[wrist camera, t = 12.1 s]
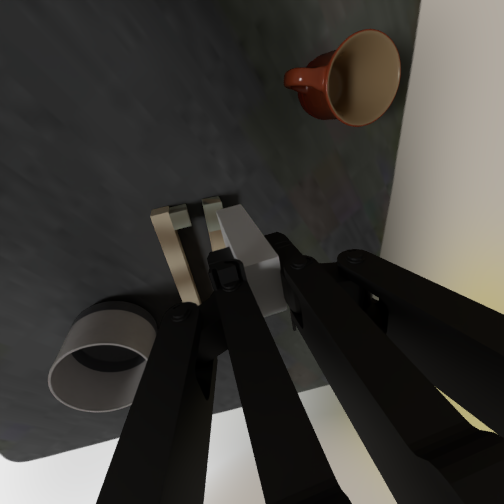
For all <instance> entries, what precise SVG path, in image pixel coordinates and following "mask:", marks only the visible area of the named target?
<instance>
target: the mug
mask: <svg viewBox="0 0 504 504" xmlns="http://www.w3.org/2000/svg"><path fill="white" fill-rule="evenodd" d="M400 77H401V62H400V57H399V53H398V50H397V48H396V46H395V44H394V42H393V41H392V40H391V38H390V37H389V36H388V35H386V34H385V33H383V32H381V31H379V30H375V29H365V30H361V31H358V32H356V33H354V34H352V35H351V36H349V37H348V38H347V39H346V40H344V41H343V42H342V44H341V45H340V46H339V47H338V48H337V50H334V51H331V52H328V53H325V54H322V55H320V56H318V57H317V58H315V59H314V60H313V61H311V62H310V63H309V64H308V65H307V67H306V68H293V69H290V70H288V71H287V72H286V73H285V75H284V86H285V87H286V88H288V89H292V90H295V91H297V92H298V98H299V101H300V104H301V106H302V107H303V109H304V110H305V111H306V112H307V113H308V114H309V115H311V116H313V117H315V118H318V119H321V120H329V119H338V120H339V121H341V122H342V123H344V124H346V125H349V126H354V127H360V126H365V125H368V124H370V123H372V122H374V121H376V120H377V119H378V118H380V117H381V116H382V115H383V114H384V113H385V112H386V111H387V109H388V108H389V106H390V105H391V103H392V102H393V100H394V98H395V95H396V93H397V90H398V87H399V83H400Z"/></svg>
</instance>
